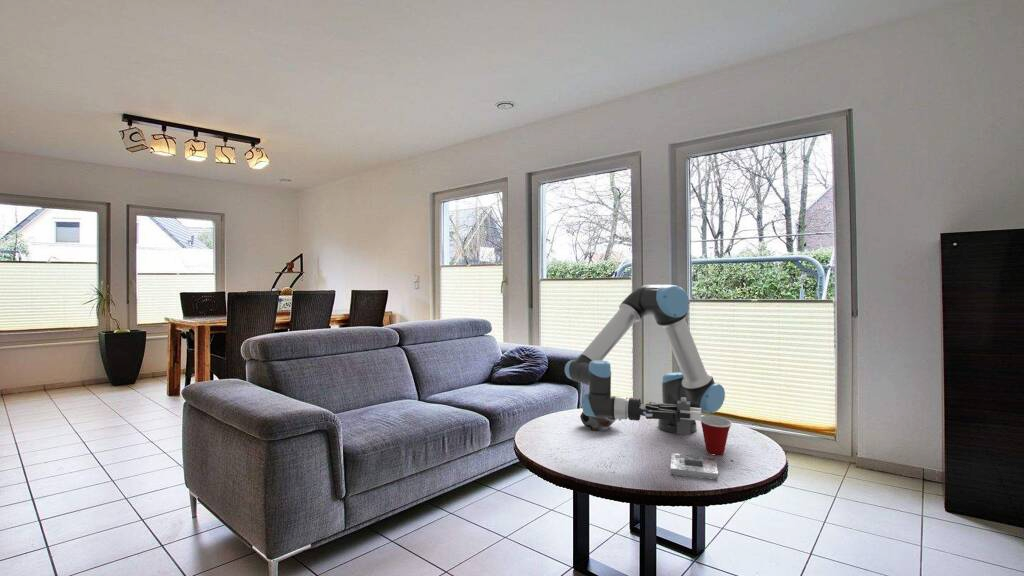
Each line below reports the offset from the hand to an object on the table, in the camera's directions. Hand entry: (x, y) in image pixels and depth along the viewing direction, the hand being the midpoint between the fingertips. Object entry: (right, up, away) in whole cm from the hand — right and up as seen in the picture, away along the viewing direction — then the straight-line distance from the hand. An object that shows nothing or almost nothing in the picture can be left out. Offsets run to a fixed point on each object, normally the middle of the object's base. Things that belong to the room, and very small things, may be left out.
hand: (701, 414), depth 165 cm
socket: (-2, -18, 0) cm, 18 cm away
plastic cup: (+11, -18, +15) cm, 26 cm away
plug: (-5, -6, +2) cm, 8 cm away
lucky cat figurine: (-24, -17, +47) cm, 56 cm away
